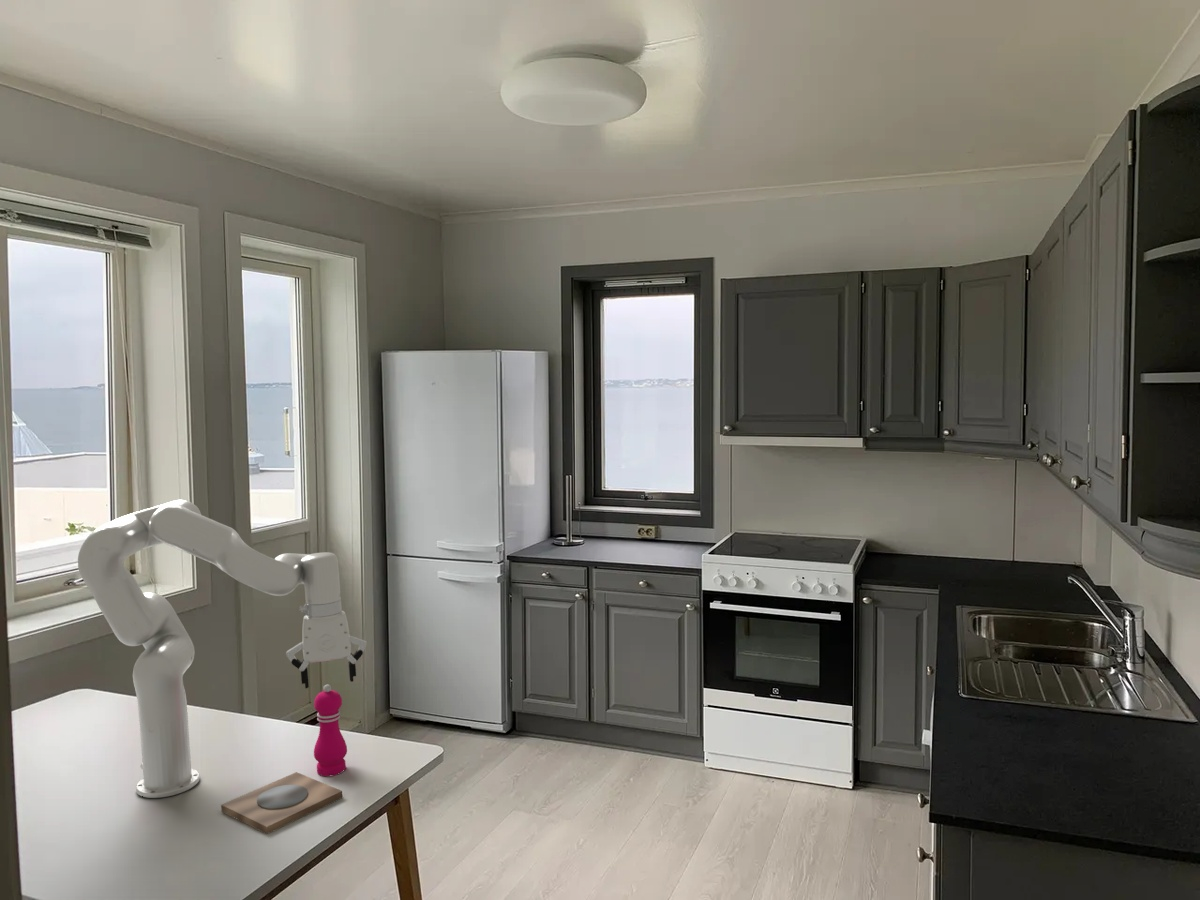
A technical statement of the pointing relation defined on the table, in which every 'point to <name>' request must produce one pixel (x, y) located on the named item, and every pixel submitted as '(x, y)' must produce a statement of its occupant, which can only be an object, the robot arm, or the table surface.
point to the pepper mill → (329, 734)
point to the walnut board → (281, 802)
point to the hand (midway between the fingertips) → (329, 683)
